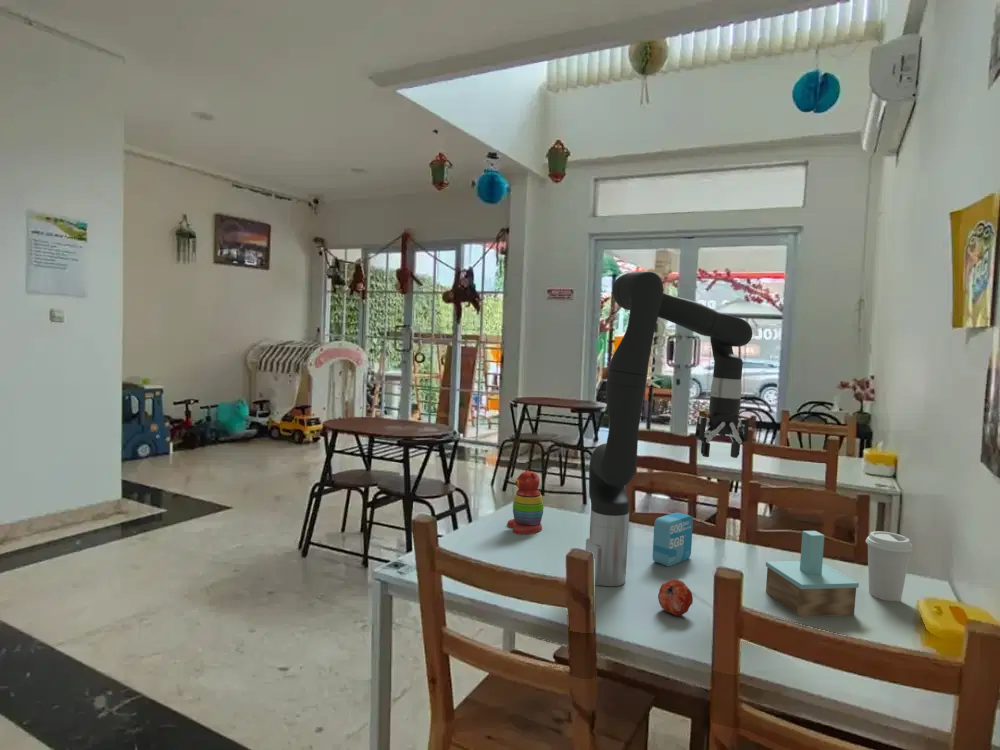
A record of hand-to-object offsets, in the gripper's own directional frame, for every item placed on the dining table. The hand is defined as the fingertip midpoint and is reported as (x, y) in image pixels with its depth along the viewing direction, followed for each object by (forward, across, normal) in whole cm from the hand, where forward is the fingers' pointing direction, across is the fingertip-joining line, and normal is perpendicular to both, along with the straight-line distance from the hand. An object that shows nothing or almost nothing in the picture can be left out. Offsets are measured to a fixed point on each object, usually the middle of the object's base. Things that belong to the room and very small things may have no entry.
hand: (719, 457), depth 167 cm
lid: (+22, +8, -27) cm, 36 cm away
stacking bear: (+31, -40, +37) cm, 62 cm away
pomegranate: (+30, -24, -24) cm, 46 cm away
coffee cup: (+28, +30, -26) cm, 49 cm away
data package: (+30, -8, +5) cm, 31 cm away
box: (+29, +8, -27) cm, 40 cm away
